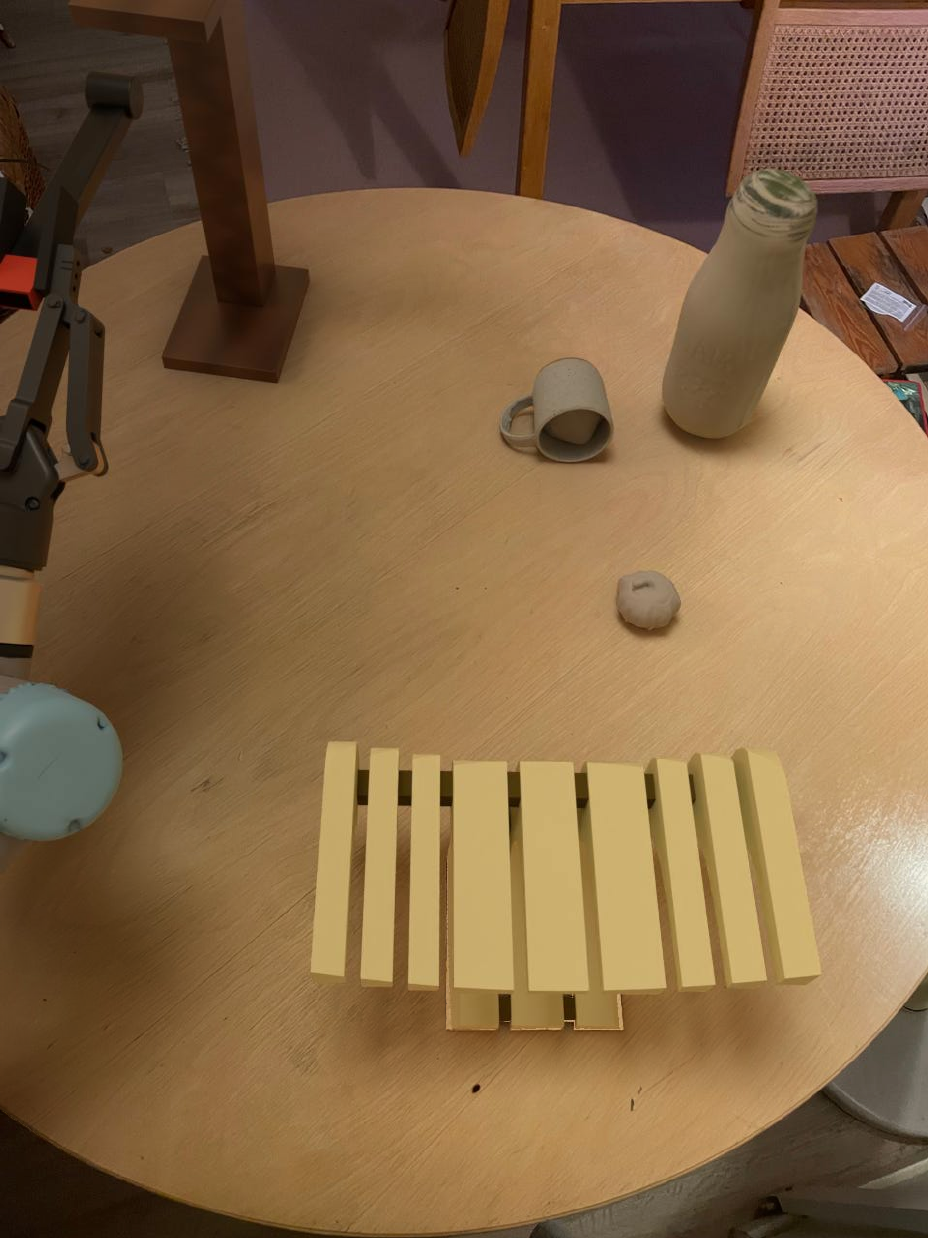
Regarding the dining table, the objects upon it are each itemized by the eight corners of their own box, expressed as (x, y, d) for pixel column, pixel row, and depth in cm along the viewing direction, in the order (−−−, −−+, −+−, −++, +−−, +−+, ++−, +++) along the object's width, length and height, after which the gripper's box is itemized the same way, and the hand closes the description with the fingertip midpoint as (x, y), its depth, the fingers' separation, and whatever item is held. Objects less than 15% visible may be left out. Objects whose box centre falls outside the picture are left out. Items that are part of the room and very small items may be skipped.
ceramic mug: (596, 402, 108) (607, 347, 102) (607, 462, 104) (619, 409, 98) (495, 404, 108) (500, 349, 101) (502, 465, 104) (508, 412, 97)
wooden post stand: (158, 381, 107) (53, 2, 75) (204, 266, 116) (129, -116, 84) (273, 397, 107) (217, 23, 74) (309, 280, 116) (275, -97, 84)
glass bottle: (761, 408, 109) (863, 172, 86) (723, 471, 105) (819, 239, 81) (677, 370, 112) (753, 129, 88) (635, 429, 107) (703, 192, 83)
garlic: (601, 624, 94) (611, 593, 90) (619, 579, 97) (630, 547, 92) (664, 648, 93) (678, 617, 89) (681, 601, 96) (694, 570, 92)
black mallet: (-10, 305, 63) (-26, 268, 61) (104, 99, 75) (94, 60, 73) (41, 312, 63) (27, 275, 61) (147, 104, 75) (139, 66, 73)
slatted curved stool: (709, 824, 85) (776, 729, 70) (738, 1031, 76) (821, 974, 61) (340, 819, 83) (327, 722, 68) (328, 1030, 75) (310, 972, 60)
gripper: (-111, 555, 67) (-54, 200, 68) (126, 588, 67) (180, 231, 68) (-186, 542, 60) (-122, 144, 60) (81, 579, 59) (142, 178, 60)
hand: (37, 191), depth 64 cm, fingers closed on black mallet, 3 cm apart
